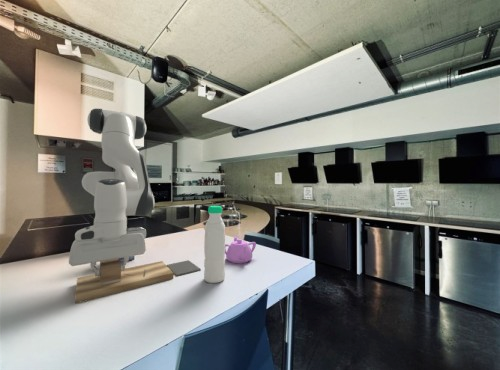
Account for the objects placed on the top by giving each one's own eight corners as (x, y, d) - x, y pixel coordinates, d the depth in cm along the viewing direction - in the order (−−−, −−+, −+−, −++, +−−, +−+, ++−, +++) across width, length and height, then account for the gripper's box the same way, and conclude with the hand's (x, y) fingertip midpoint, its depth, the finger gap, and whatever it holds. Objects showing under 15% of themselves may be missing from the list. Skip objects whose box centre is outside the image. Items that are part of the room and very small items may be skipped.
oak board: (77, 284, 68) (77, 278, 68) (161, 266, 84) (162, 261, 84) (75, 303, 57) (75, 295, 57) (173, 278, 73) (173, 272, 73)
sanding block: (99, 275, 69) (100, 260, 70) (117, 271, 73) (117, 257, 73) (101, 285, 62) (101, 268, 62) (120, 281, 65) (121, 265, 65)
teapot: (234, 253, 101) (234, 234, 101) (260, 258, 93) (260, 238, 94) (218, 260, 90) (218, 240, 91) (245, 267, 83) (246, 244, 83)
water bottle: (199, 279, 72) (200, 206, 72) (216, 273, 77) (216, 204, 77) (212, 286, 67) (213, 207, 67) (229, 279, 72) (229, 206, 73)
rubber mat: (166, 266, 84) (166, 264, 84) (188, 261, 89) (188, 260, 89) (176, 276, 74) (176, 274, 74) (200, 270, 80) (200, 269, 80)
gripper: (144, 224, 76) (143, 263, 76) (70, 231, 64) (69, 277, 64) (148, 227, 71) (147, 268, 71) (68, 235, 59) (67, 285, 59)
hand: (110, 273), depth 67 cm, fingers closed on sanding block, 5 cm apart
